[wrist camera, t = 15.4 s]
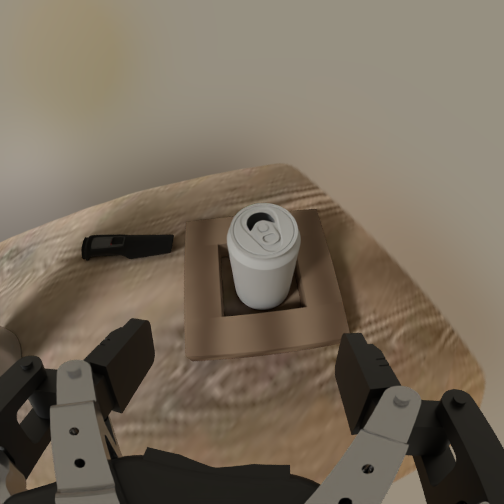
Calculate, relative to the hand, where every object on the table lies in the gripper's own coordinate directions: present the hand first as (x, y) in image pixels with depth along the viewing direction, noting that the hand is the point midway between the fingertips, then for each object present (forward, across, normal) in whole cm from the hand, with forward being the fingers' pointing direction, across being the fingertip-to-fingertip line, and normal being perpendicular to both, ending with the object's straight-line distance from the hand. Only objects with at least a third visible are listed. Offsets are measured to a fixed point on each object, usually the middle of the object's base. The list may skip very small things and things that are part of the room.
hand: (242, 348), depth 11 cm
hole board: (+22, 0, +5) cm, 22 cm away
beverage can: (+22, 0, +6) cm, 22 cm away
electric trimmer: (+25, +19, +3) cm, 32 cm away
